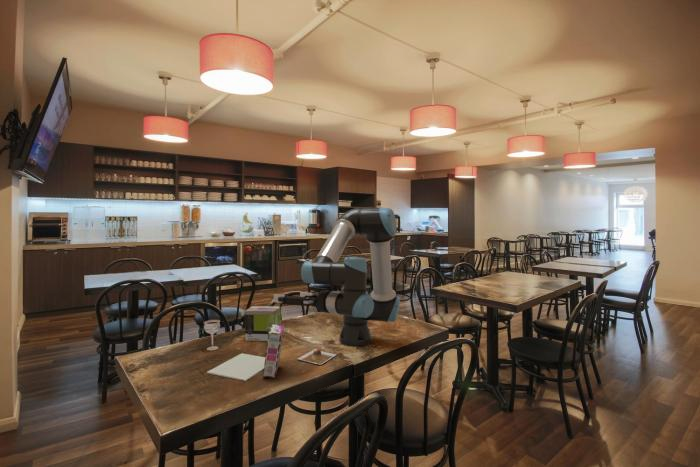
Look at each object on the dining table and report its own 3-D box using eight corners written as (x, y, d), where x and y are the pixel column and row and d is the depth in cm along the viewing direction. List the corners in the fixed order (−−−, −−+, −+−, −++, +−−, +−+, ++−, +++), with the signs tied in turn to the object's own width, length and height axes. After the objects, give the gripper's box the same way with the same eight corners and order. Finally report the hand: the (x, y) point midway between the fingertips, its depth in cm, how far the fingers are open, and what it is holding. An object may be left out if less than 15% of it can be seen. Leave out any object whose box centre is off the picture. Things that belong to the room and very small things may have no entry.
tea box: (281, 335, 179) (281, 305, 178) (275, 342, 169) (275, 311, 168) (252, 334, 180) (251, 305, 180) (244, 341, 170) (244, 310, 170)
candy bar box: (276, 378, 131) (281, 334, 130) (262, 377, 130) (267, 332, 130) (279, 365, 142) (284, 325, 141) (266, 364, 141) (271, 323, 141)
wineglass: (215, 351, 157) (214, 324, 156) (201, 350, 158) (200, 323, 158) (223, 346, 164) (223, 320, 163) (210, 345, 165) (209, 319, 164)
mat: (277, 360, 147) (277, 359, 147) (245, 381, 128) (245, 380, 128) (241, 354, 154) (241, 353, 154) (206, 373, 135) (206, 371, 135)
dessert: (337, 357, 152) (337, 346, 151) (320, 367, 141) (320, 355, 141) (314, 352, 158) (313, 341, 157) (296, 361, 147) (296, 350, 147)
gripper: (306, 317, 113) (261, 310, 125) (352, 309, 133) (310, 303, 145) (307, 293, 113) (262, 288, 126) (353, 289, 133) (310, 285, 146)
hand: (287, 296), depth 136 cm, fingers open, 13 cm apart
